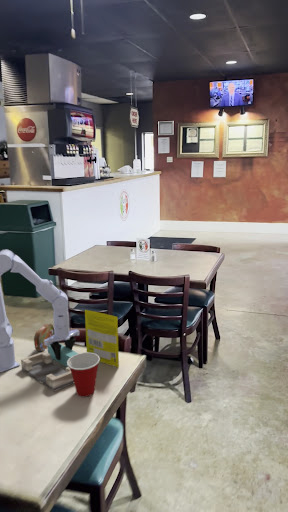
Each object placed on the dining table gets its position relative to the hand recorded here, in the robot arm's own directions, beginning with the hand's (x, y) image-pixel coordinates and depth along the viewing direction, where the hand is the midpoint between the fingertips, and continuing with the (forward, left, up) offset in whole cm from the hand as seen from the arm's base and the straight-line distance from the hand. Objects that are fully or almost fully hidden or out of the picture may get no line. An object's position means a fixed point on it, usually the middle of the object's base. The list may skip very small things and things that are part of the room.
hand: (63, 357), depth 169 cm
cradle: (+6, -10, -1) cm, 12 cm away
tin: (-17, +2, -2) cm, 17 cm away
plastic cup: (+25, -8, -2) cm, 26 cm away
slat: (0, 0, -2) cm, 2 cm away
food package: (+12, +10, -2) cm, 15 cm away
